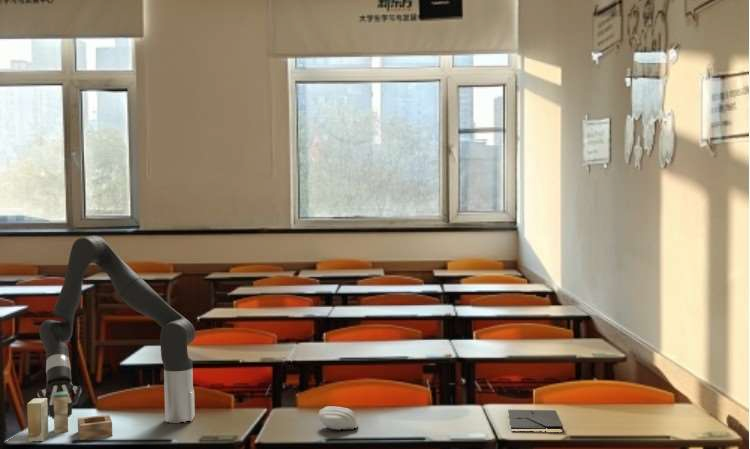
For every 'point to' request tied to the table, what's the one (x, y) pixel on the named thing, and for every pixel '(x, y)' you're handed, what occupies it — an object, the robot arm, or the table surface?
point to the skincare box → (37, 419)
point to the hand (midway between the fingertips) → (61, 416)
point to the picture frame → (534, 419)
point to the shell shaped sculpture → (338, 418)
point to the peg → (60, 411)
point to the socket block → (94, 427)
